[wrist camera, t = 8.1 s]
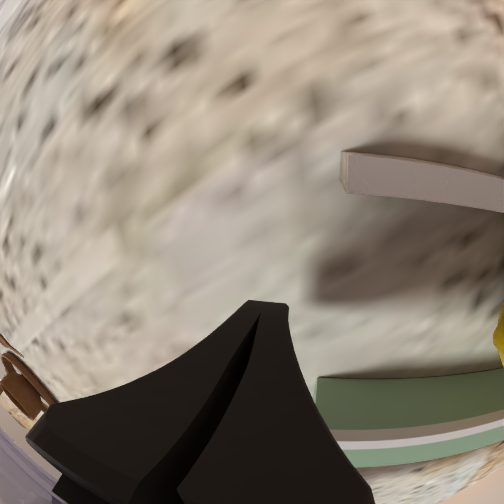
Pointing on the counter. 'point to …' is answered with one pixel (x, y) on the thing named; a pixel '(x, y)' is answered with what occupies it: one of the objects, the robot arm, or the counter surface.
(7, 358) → the place setting
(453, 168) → the rail
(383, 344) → the counter surface
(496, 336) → the lemon
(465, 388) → the pale green rectangular bar
